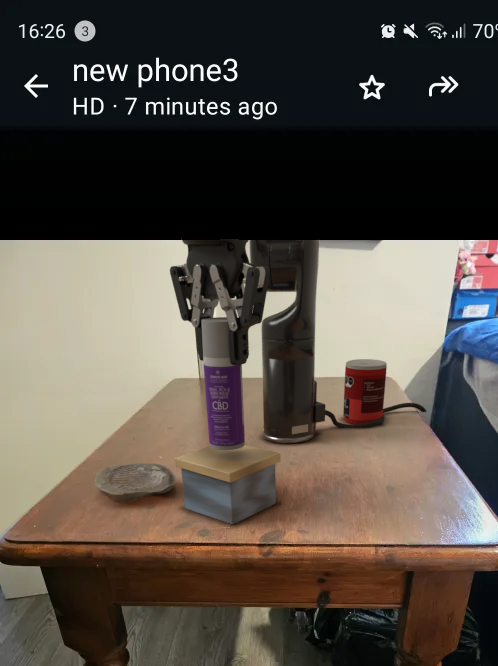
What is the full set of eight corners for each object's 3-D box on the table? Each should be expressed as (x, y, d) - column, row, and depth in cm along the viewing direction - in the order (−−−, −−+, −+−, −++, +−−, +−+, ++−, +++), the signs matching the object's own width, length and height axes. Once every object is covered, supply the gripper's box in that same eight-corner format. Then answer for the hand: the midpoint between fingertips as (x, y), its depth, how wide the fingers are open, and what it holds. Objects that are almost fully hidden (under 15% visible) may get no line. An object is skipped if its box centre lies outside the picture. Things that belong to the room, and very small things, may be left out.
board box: (229, 487, 87) (226, 439, 83) (281, 503, 82) (280, 452, 78) (179, 508, 81) (174, 457, 77) (232, 527, 75) (229, 473, 71)
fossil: (182, 505, 83) (181, 487, 82) (99, 513, 80) (97, 495, 79) (170, 476, 91) (169, 459, 90) (94, 482, 88) (91, 465, 87)
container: (213, 451, 74) (203, 322, 66) (206, 441, 78) (197, 318, 70) (248, 448, 75) (243, 320, 67) (240, 438, 79) (235, 316, 71)
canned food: (350, 413, 122) (353, 358, 116) (387, 417, 119) (392, 360, 113) (337, 422, 116) (339, 364, 111) (375, 427, 113) (380, 367, 108)
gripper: (287, 189, 61) (287, 363, 70) (191, 197, 69) (203, 352, 78) (239, 186, 56) (246, 373, 65) (142, 195, 64) (160, 361, 73)
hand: (222, 361), depth 71 cm, fingers closed on container, 4 cm apart
